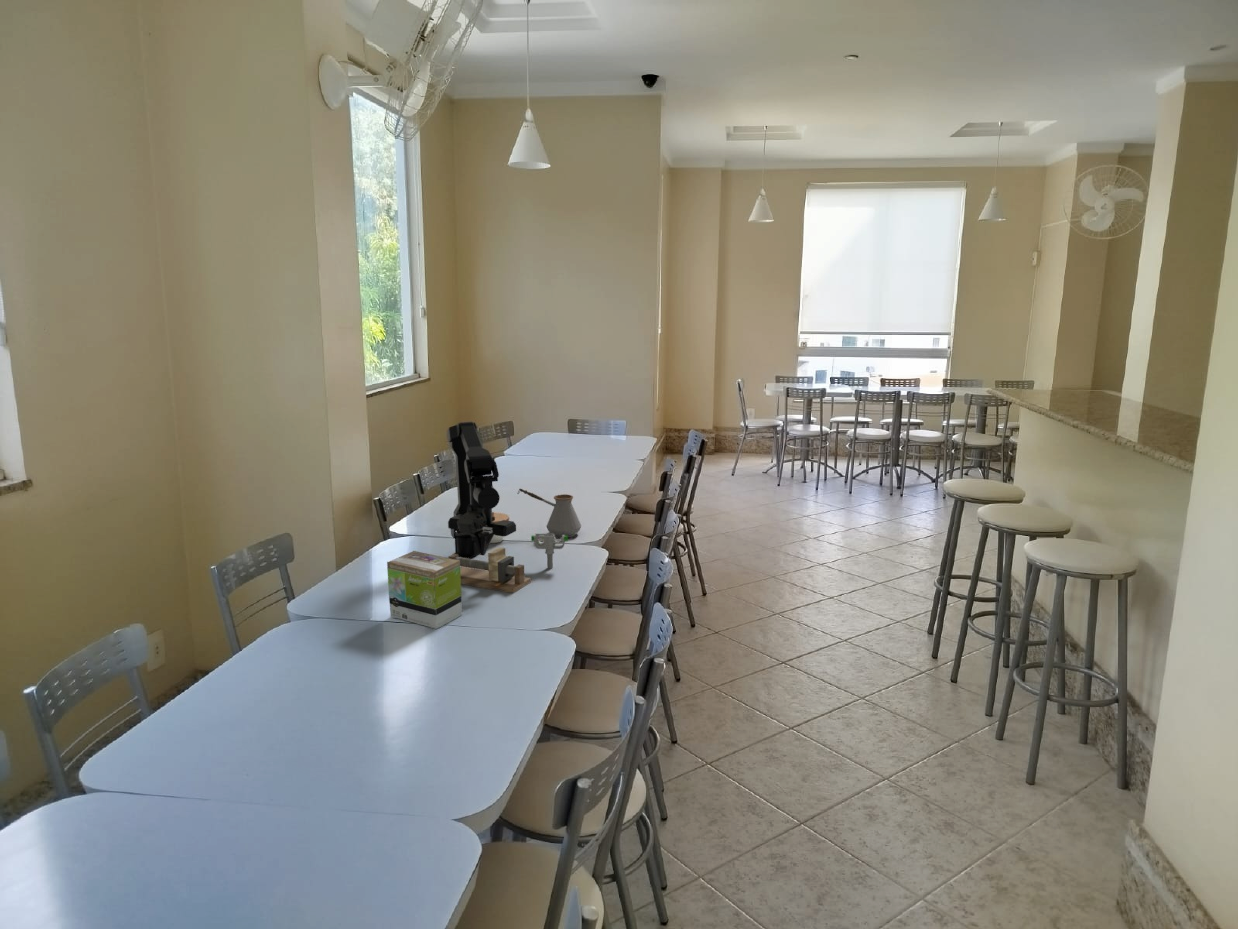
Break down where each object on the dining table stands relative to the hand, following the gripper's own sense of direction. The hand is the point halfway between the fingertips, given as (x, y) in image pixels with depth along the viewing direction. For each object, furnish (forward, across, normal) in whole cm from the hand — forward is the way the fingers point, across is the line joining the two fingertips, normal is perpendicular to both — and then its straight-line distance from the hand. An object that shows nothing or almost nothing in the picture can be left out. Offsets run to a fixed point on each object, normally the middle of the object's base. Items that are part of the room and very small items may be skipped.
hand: (482, 555), depth 218 cm
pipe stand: (+8, +1, 0) cm, 8 cm away
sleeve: (+6, +5, 0) cm, 8 cm away
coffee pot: (+8, -6, +47) cm, 48 cm away
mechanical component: (+8, +11, +17) cm, 22 cm away
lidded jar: (+8, -18, +33) cm, 39 cm away
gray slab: (+6, +7, 0) cm, 9 cm away
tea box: (+8, +1, -27) cm, 28 cm away
